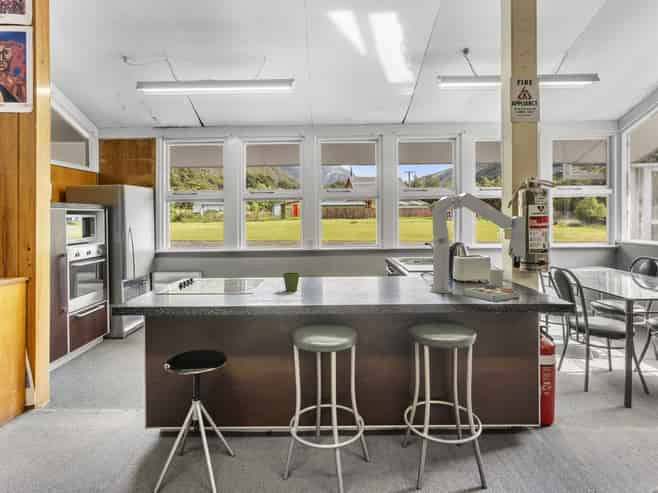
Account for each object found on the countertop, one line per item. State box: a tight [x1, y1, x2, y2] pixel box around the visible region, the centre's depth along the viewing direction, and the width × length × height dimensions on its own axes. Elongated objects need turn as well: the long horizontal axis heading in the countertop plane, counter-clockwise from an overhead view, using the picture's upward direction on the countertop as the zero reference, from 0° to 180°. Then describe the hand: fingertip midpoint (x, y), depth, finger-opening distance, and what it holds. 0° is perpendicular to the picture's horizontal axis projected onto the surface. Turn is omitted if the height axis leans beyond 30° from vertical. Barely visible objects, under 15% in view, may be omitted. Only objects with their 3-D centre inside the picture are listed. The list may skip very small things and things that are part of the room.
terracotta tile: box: [500, 286, 515, 293], centre depth 243 cm, size 5×5×2 cm
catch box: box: [462, 287, 507, 303], centre depth 242 cm, size 22×11×4 cm, turn 29°
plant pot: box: [282, 271, 301, 292], centre depth 266 cm, size 12×12×11 cm
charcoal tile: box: [483, 283, 498, 290], centre depth 253 cm, size 5×5×2 cm
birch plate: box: [477, 287, 518, 300], centre depth 247 cm, size 20×11×3 cm, turn 29°
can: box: [488, 267, 504, 288], centre depth 278 cm, size 9×9×12 cm
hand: (516, 267), depth 245 cm, fingers closed
